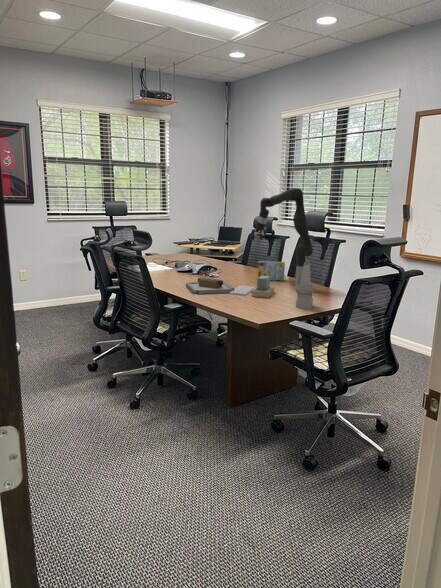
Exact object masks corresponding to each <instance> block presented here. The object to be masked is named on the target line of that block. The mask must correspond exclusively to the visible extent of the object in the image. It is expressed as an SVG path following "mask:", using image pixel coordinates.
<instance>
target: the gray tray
mask: <svg viewBox="0 0 441 588" xmlns="http://www.w3.org/2000/svg"><path fill="white" fill-rule="evenodd" d="M185 287H186V288H187V290H189V291H190V293H192V295H194V294H195V295H211V294H212V295H214V294H229V292H232V291H234V289H235V288H234V287H233V286H232V285H230V284H229V283H228V282H226V281H224V280H222V279H218V278H217V279H215V278H209V277H203V278H202V277H198V278H197V281H192V282H191V281H189V282H186V283H185Z"/></svg>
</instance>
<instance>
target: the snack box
mask: <svg viewBox="0 0 441 588" xmlns="http://www.w3.org/2000/svg"><path fill="white" fill-rule="evenodd" d="M257 262H258V264H257V265H258V266H257V278H259V277H260V276H270V281H276V280H280V281H281V282H282V281H283V282H284V281H285V266H286V264H285V261H268V260H267V261H265V260H264V261H263V260H258V261H257ZM280 281H279V282H280Z"/></svg>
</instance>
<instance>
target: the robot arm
mask: <svg viewBox="0 0 441 588" xmlns="http://www.w3.org/2000/svg"><path fill="white" fill-rule="evenodd" d="M285 201H289V202H294V203H295V212H294V215H293V221H292V222H293V226H294V229H295V231H296V232H297V234H298V235H299V236H300V238H301V241H302V243H300V244H298V245H297V246H296V249H295V263H296V268H295V271H296V272H295V285H294V286H295V287H294V288H295V289H296V288H297V286H298V285H300V282H301V277H302V272H303V266H304V262H305V261H306V260H307V259H306V257H311V256H312V255H313V246H312V245H313V244H312V241H311V237H310V234H309V229H308V222H307V218H306V211H305V205H304V204H305V203H304V193H303V190H302V189H301V188H298V187H297V188H296V187H295V188H294V187H291V188H288V189H287V190H285V191H283V192H280V193H279V194H275V195H272V196H270V197H263V198H262V199H261V200H260V204H259V205H260V211H259V215H258V217H257V221H256V224H255V227H252V229H251V232H250V235H251V240H252V241H255V237H256V236H257V235H258V234H260V237H259V239H260V240H261V241H262V240H263V239H264V236H267V232H268V228H267V227H266V226H267V222H268V216H269V213H270V210H268V209H267V208H271V207H274V206H276V205H279V204H282V203H283V202H285Z"/></svg>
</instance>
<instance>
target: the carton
mask: <svg viewBox="0 0 441 588" xmlns="http://www.w3.org/2000/svg"><path fill="white" fill-rule="evenodd" d="M254 287H255V288H254V289H253V290H252V291H251V292H250V293H251V294H250V295H251V297H257V298H259V297H260V298H268V299H269V298H270V297H271V296H272V295H274V293H275V290H276V289H275V285H270V287H269V288H268V289H267V290H266V291H258V290H257V286H254Z"/></svg>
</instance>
